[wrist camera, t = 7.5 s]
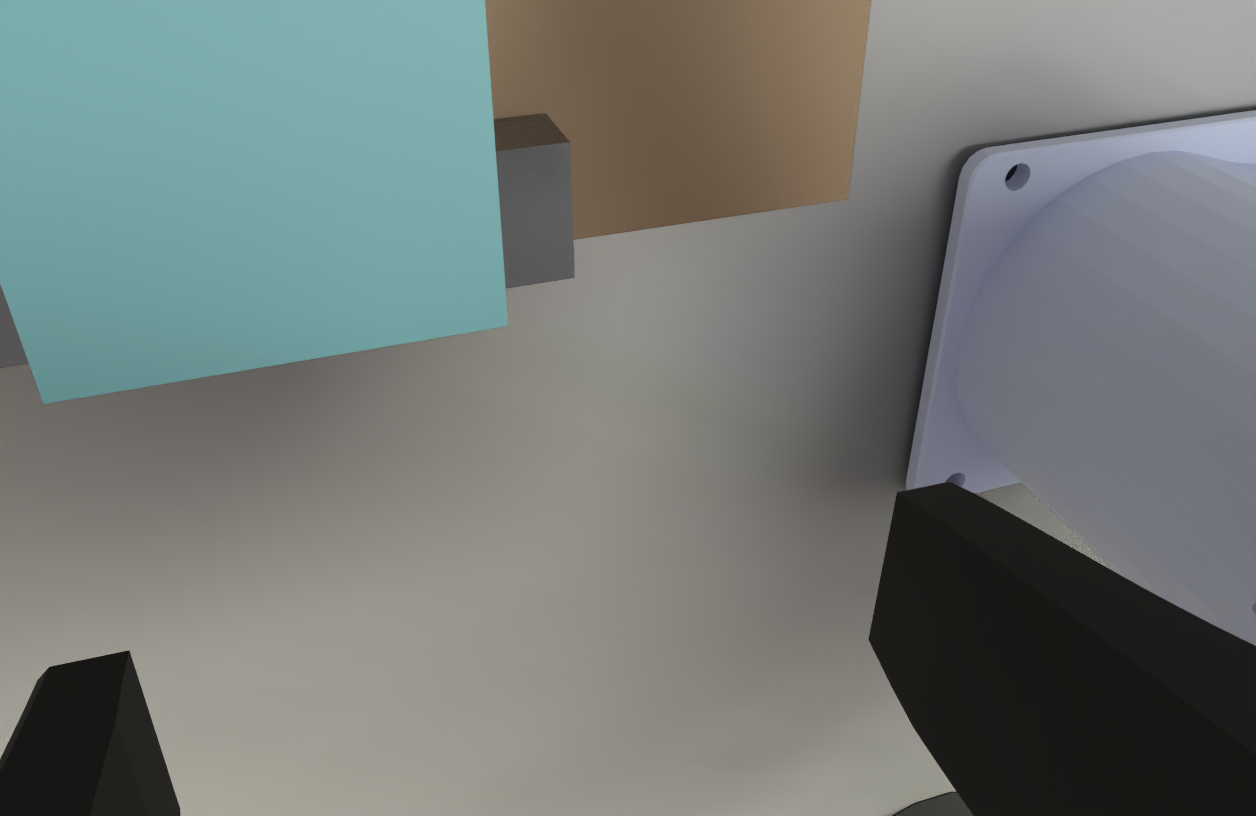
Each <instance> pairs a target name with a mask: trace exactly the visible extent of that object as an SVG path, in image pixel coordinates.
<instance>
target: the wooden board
mask: <svg viewBox="0 0 1256 816" xmlns="http://www.w3.org/2000/svg"><path fill="white" fill-rule="evenodd" d="M870 6H871V0H485V9H486V23H487V37H488V51H489V65H490V79H491V92H492V106H493V120H494V134H495V148H496V162H497V176H498V190H499V203H500V217H501V231H502V245H503V259H504V273H505V287H506V288H512V287H518V286H525V285H531V284H537V283H544V282H550V281H556V280H563V279H569V278H574V247H573V240H575V239H582V238H588V237H595V236H602V235H609V234H616V233H622V232H629V231H636V230H643V229H649V228H656V227H663V226H670V225H677V224H683V223H690V222H697V221H704V220H710V219H717V218H724V217H731V216H738V215H744V214H751V213H758V212H765V211H772V210H778V209H785V208H792V207H799V206H805V205H812V204H819V203H826V202H833V201H839V200H846V199H848V194H849V185H850V177H851V168H852V160H853V151H854V143H855V134H856V125H857V117H858V108H859V100H860V91H861V83H862V74H863V66H864V57H865V49H866V40H867V32H868V23H869V15H870ZM28 363H29V362H28V360H27V357H26V354H25V351H24V348H23V346H22V343H21V340H20V337H19V334H18V332H17V329H16V326H15V323H14V320H13V318H12V315H11V312H10V309H9V306H8V304H7V301H6V298H5V295H4V292H3V290H2V287H1V284H0V368H3V367H9V366H15V365H22V364H28Z"/></svg>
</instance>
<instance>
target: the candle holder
mask: <svg viewBox="0 0 1256 816" xmlns="http://www.w3.org/2000/svg"><path fill="white" fill-rule="evenodd" d="M895 816H973V814H972V813H971V811H970V810H969V809H968V807H967V806H966V804H965V803H964V801H963V800H962V799H961V797H960V796H959V794H958V793H949V794H946V795H943V796H940V797H936V798H933V799H930V800H927V801H924V802H920V803H917V804H914V805H913V806H911V807H909V808H907V809H906V810H904V811H902V812H900V813H899V814H897V815H895Z"/></svg>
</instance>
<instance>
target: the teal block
mask: <svg viewBox="0 0 1256 816" xmlns="http://www.w3.org/2000/svg"><path fill="white" fill-rule="evenodd" d="M0 284H1V287H2V290H3V292H4V295H5V298H6V301H7V304H8V306H9V309H10V312H11V315H12V318H13V320H14V323H15V326H16V329H17V332H18V334H19V337H20V340H21V343H22V346H23V348H24V351H25V354H26V357H27V360H28V362H29V365H30V368H31V371H32V374H33V376H34V379H35V382H36V385H37V388H38V390H39V393H40V396H41V399H42V402H43V404H48V403H54V402H60V401H66V400H72V399H78V398H83V397H89V396H95V395H101V394H107V393H113V392H119V391H125V390H131V389H137V388H143V387H149V386H155V385H161V384H167V383H173V382H179V381H185V380H191V379H197V378H203V377H208V376H214V375H220V374H226V373H232V372H238V371H244V370H250V369H256V368H262V367H268V366H274V365H280V364H286V363H292V362H298V361H304V360H310V359H316V358H322V357H328V356H333V355H339V354H345V353H351V352H357V351H363V350H369V349H375V348H381V347H387V346H393V345H399V344H405V343H411V342H417V341H423V340H429V339H435V338H441V337H447V336H453V335H458V334H464V333H470V332H476V331H482V330H488V329H494V328H500V327H506V326H508V314H507V301H506V287H505V273H504V259H503V245H502V231H501V217H500V203H499V190H498V176H497V162H496V148H495V134H494V120H493V106H492V92H491V79H490V65H489V51H488V37H487V23H486V9H485V0H0Z"/></svg>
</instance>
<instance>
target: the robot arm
mask: <svg viewBox="0 0 1256 816" xmlns="http://www.w3.org/2000/svg"><path fill="white" fill-rule="evenodd" d="M1015 165H1017V169H1016V171H1015V174H1014V175H1013V176H1012V177H1011V178H1010V179H1009V180H1008V181H1006V182H1005V178H1006V176H1007V173H1008V171H1009V170H1010V169H1011V168H1012V167H1013V166H1015ZM951 475H952V476H951ZM950 476H951V477H950ZM949 477H950V478H949ZM948 478H949V479H948ZM947 479H948V480H947ZM1018 483H1023V484H1024V485H1025V486H1026V487H1027V488H1028V489H1029V490H1030V491H1031V492H1032V493H1033V494H1034V495H1035V496H1036V497H1037V498H1038V499H1039V500H1040V501H1041V502H1042V503H1043V504H1044V505H1045V506H1046V507H1047V508H1049V509H1050V510H1051V511H1052V512H1053V513H1054V514H1055V515H1056V516H1057V517H1058V518H1059V519H1060V520H1061V521H1062V522H1063V523H1064V524H1065V525H1066V526H1067V527H1068V528H1069V529H1070V530H1071V531H1072V532H1073V533H1074V534H1076V535H1077V536H1078V537H1079V538H1080V539H1081V540H1082V541H1083V542H1084V543H1085V544H1086V545H1087V546H1088V547H1089V548H1090V549H1091V550H1092V551H1093V552H1094V553H1095V554H1096V555H1097V556H1098V557H1099V558H1100V559H1101V560H1103V561H1104V562H1105V563H1106V564H1107V565H1108V566H1109V567H1110V568H1111V569H1112V570H1113V571H1112V570H1110V569H1109V568H1107V567H1105V566H1103V565H1101V564H1100V563H1098V562H1096V561H1094V560H1092V559H1091V558H1089V557H1087V556H1085V555H1084V554H1082V553H1080V552H1078V551H1076V550H1075V549H1073V548H1071V547H1069V546H1068V545H1066V544H1064V543H1062V542H1061V541H1059V540H1057V539H1055V538H1054V537H1052V536H1050V535H1048V534H1046V533H1045V532H1043V531H1041V530H1039V529H1038V528H1036V527H1034V526H1032V525H1031V524H1029V523H1027V522H1025V521H1023V520H1022V519H1020V518H1018V517H1016V516H1014V515H1013V514H1011V513H1009V512H1007V511H1005V510H1004V509H1002V508H1000V507H998V506H996V505H995V504H993V503H991V502H989V501H987V500H985V499H983V498H982V497H980V496H978V495H976V494H975V493H979V492H984V491H988V490H992V489H996V488H1001V487H1005V486H1009V485H1013V484H1018ZM869 641H870V643H871V645H872V647H873V649H874V652H875V654H876V656H877V658H878V660H879V662H880V664H881V666H882V668H883V670H884V672H885V674H886V676H887V678H888V680H889V682H890V684H891V686H892V688H893V690H894V692H895V694H896V696H897V698H898V699H899V701H900V703H901V705H902V707H903V709H904V711H905V713H906V714H907V716H908V718H909V720H910V722H911V724H912V726H913V727H914V729H915V730H916V732H917V733H918V735H919V736H920V738H921V740H922V741H923V743H924V744H925V746H926V747H927V749H928V750H929V752H930V753H931V754H932V756H933V757H934V759H935V760H936V762H937V763H938V765H939V766H940V768H941V769H942V771H943V772H944V774H945V775H946V777H947V778H948V779H949V781H950V782H951V784H952V785H953V787H954V788H955V790H956V791H957V793H958V794H959V796H960V797H961V799H962V800H963V801H964V803H965V804H966V806H967V807H968V809H969V810H970V811H971V813H972V814H973V816H1256V110H1253V111H1246V112H1239V113H1232V114H1224V115H1217V116H1210V117H1203V118H1195V119H1188V120H1181V121H1174V122H1167V123H1159V124H1152V125H1145V126H1138V127H1131V128H1123V129H1116V130H1109V131H1102V132H1094V133H1087V134H1080V135H1073V136H1066V137H1058V138H1051V139H1044V140H1037V141H1030V142H1022V143H1015V144H1008V145H1001V146H993V147H987V148H984V149H982V150H979V151H977V152H976V153H975V154H973V155H972V156H971V157H970V158H969V159H968V160H967V162H966V163H965V165H964V166H963V168H962V171H961V174H960V176H959V182H958V187H957V193H956V199H955V204H954V210H953V216H952V222H951V227H950V233H949V239H948V244H947V250H946V256H945V261H944V267H943V273H942V279H941V284H940V290H939V296H938V301H937V307H936V313H935V318H934V324H933V330H932V336H931V341H930V347H929V353H928V358H927V364H926V370H925V375H924V381H923V387H922V393H921V398H920V404H919V410H918V415H917V421H916V427H915V432H914V438H913V444H912V450H911V455H910V461H909V467H908V472H907V478H906V491H901V492H897V495H896V500H895V506H894V511H893V516H892V521H891V526H890V532H889V537H888V542H887V547H886V552H885V557H884V563H883V568H882V573H881V578H880V583H879V588H878V594H877V599H876V604H875V609H874V614H873V620H872V625H871V630H870V635H869ZM0 816H180V807H179V804H178V801H177V798H176V795H175V792H174V789H173V785H172V782H171V779H170V776H169V773H168V770H167V767H166V764H165V760H164V757H163V754H162V751H161V748H160V745H159V742H158V739H157V735H156V732H155V729H154V726H153V723H152V720H151V717H150V714H149V710H148V707H147V704H146V701H145V698H144V695H143V692H142V689H141V685H140V682H139V679H138V676H137V673H136V670H135V667H134V664H133V660H132V657H131V654H130V651H124V652H119V653H114V654H110V655H105V656H100V657H95V658H90V659H85V660H81V661H76V662H71V663H66V664H61V665H56V666H51V667H49V668H48V669H47V670H46V671H45V672H44V674H43V675H42V676H41V677H40V678H39V679H38V681H37V683H36V685H35V687H34V689H33V692H32V694H31V696H30V698H29V700H28V703H27V705H26V707H25V709H24V711H23V713H22V715H21V717H20V719H19V722H18V724H17V726H16V728H15V730H14V732H13V734H12V736H11V738H10V740H9V742H8V744H7V746H6V749H5V751H4V753H3V755H2V757H1V759H0Z"/></svg>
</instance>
